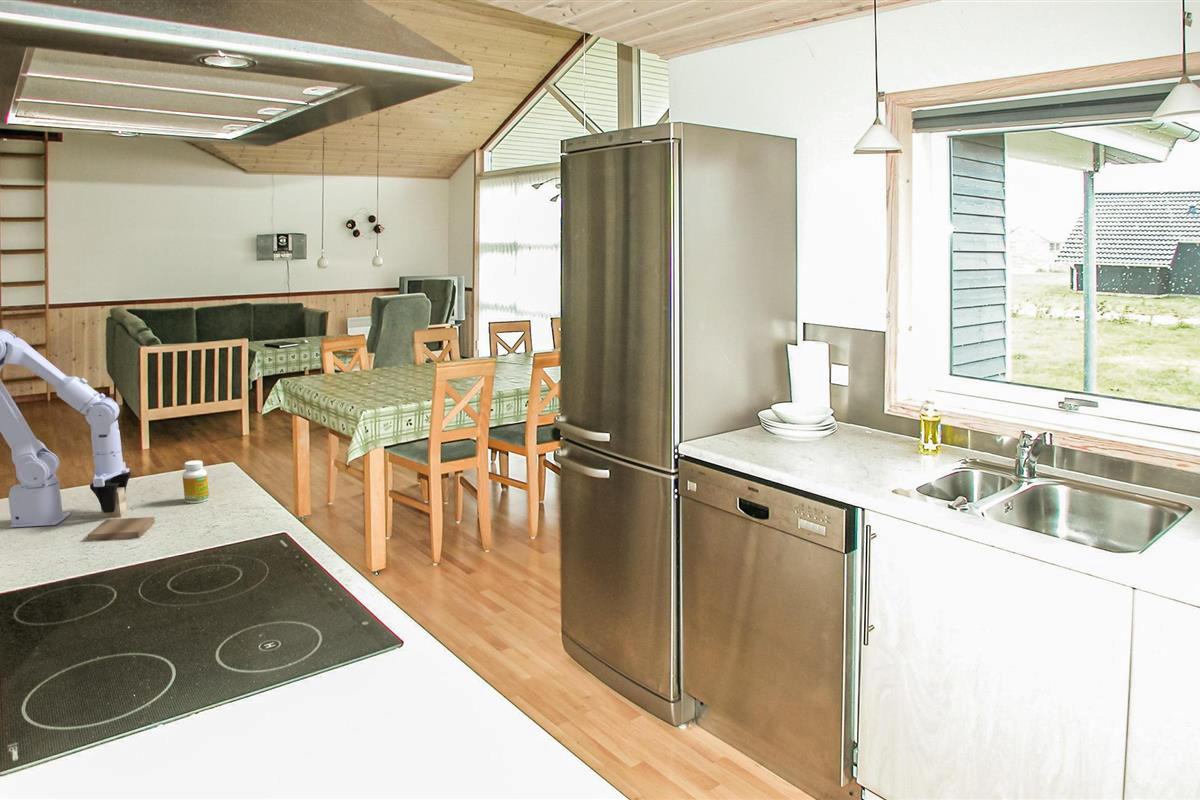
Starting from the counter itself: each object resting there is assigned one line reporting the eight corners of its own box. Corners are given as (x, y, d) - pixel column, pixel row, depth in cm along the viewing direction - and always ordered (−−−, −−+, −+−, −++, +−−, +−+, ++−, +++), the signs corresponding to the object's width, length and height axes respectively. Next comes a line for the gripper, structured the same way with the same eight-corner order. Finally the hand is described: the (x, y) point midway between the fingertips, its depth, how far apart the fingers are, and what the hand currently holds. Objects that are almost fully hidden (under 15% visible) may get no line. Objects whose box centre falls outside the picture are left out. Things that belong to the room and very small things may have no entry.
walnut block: (88, 543, 183) (87, 534, 182) (107, 528, 192) (106, 519, 192) (139, 540, 184) (138, 531, 184) (155, 525, 194) (154, 516, 194)
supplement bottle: (199, 504, 207) (196, 465, 205) (180, 503, 208) (176, 464, 206) (213, 498, 212) (210, 460, 210) (194, 496, 213) (191, 459, 212)
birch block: (102, 518, 197) (99, 493, 196) (108, 512, 201) (105, 488, 200) (120, 517, 198) (118, 492, 197) (126, 511, 202) (124, 487, 201)
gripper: (114, 458, 190) (121, 516, 193) (136, 443, 204) (142, 497, 207) (80, 460, 189) (87, 518, 192) (104, 444, 203) (111, 499, 206)
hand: (113, 508), depth 199 cm, fingers open, 5 cm apart
